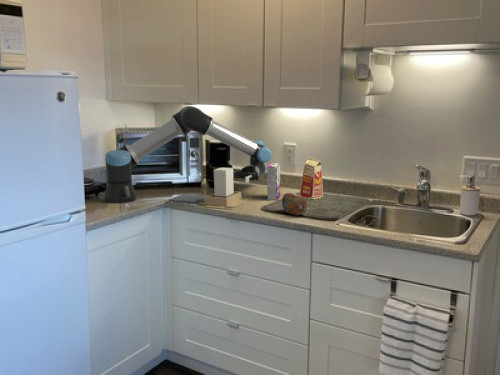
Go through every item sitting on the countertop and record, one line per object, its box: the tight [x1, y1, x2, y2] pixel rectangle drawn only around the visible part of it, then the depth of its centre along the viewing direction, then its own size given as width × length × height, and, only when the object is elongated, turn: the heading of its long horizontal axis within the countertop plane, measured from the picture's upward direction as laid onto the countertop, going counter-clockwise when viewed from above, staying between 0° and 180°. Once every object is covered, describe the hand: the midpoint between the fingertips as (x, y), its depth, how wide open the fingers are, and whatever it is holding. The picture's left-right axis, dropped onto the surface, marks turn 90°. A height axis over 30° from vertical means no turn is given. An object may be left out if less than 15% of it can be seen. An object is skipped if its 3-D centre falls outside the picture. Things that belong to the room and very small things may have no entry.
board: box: [168, 193, 208, 205], centre depth 248 cm, size 14×14×1 cm
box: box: [213, 167, 235, 198], centre depth 239 cm, size 6×8×16 cm
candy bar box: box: [266, 162, 281, 201], centre depth 249 cm, size 11×5×16 cm, turn 168°
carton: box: [200, 190, 248, 210], centre depth 240 cm, size 17×23×4 cm
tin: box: [281, 192, 307, 216], centre depth 218 cm, size 15×3×8 cm, turn 29°
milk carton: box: [298, 156, 324, 200], centre depth 249 cm, size 9×9×20 cm
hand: (232, 179), depth 248 cm, fingers open, 13 cm apart
